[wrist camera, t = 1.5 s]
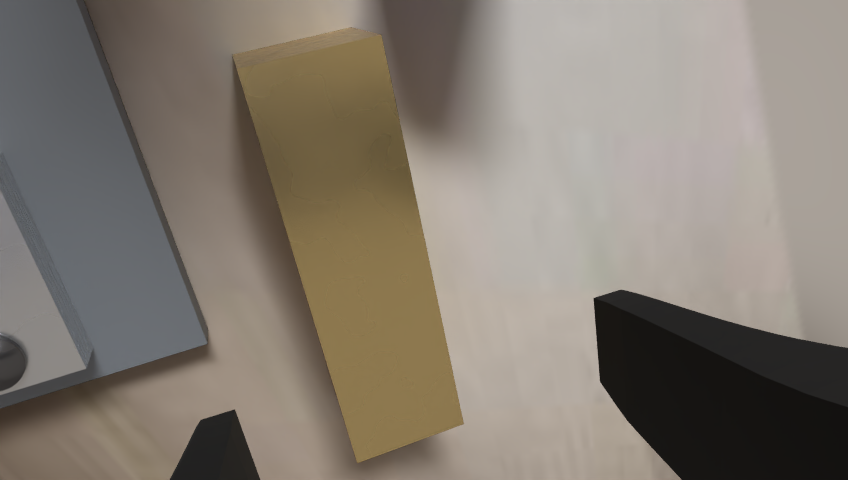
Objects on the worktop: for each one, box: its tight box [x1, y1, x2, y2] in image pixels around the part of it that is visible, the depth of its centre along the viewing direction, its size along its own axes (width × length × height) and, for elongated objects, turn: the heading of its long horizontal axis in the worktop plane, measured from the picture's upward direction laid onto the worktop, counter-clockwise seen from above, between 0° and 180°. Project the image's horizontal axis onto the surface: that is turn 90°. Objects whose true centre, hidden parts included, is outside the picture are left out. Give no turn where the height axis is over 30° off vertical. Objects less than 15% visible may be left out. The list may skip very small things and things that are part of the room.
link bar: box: [233, 27, 464, 463], centre depth 20 cm, size 4×12×4 cm, turn 12°
